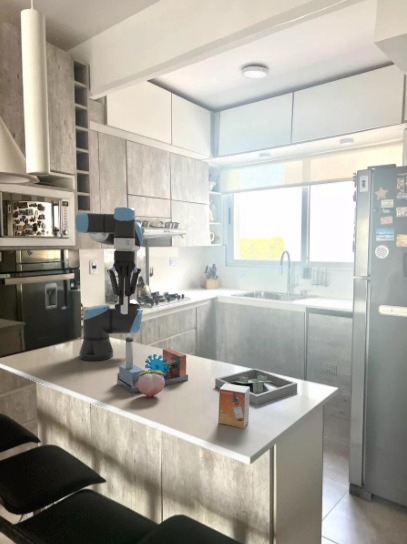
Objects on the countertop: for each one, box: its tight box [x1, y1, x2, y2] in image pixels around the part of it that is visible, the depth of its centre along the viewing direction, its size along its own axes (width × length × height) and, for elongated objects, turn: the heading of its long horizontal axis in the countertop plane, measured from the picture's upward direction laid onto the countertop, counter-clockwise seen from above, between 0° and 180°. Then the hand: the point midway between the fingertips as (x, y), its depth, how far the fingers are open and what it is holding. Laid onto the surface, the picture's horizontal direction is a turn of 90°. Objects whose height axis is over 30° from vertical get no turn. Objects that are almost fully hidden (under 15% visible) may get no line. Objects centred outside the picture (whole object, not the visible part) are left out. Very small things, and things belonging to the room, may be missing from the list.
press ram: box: [118, 336, 146, 386], centre depth 143 cm, size 10×5×16 cm, turn 39°
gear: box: [144, 353, 171, 377], centre depth 152 cm, size 11×6×10 cm
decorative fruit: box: [137, 368, 165, 398], centre depth 135 cm, size 9×8×10 cm
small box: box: [217, 383, 251, 429], centre depth 116 cm, size 8×6×10 cm
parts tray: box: [214, 368, 298, 406], centre depth 144 cm, size 21×21×3 cm
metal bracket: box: [230, 375, 272, 394], centre depth 147 cm, size 14×6×15 cm
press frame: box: [116, 347, 189, 395], centre depth 149 cm, size 12×24×10 cm, turn 129°
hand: (124, 313), depth 146 cm, fingers closed
